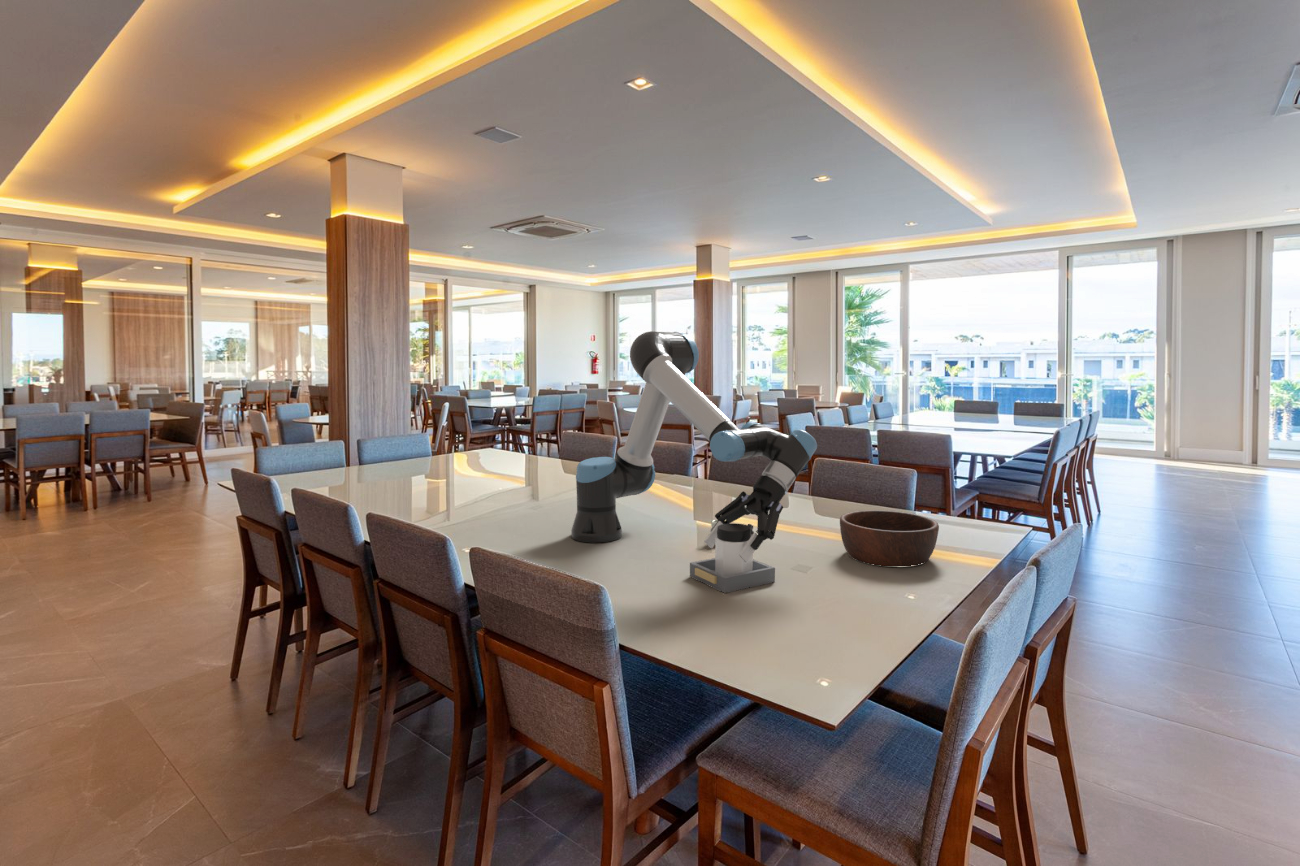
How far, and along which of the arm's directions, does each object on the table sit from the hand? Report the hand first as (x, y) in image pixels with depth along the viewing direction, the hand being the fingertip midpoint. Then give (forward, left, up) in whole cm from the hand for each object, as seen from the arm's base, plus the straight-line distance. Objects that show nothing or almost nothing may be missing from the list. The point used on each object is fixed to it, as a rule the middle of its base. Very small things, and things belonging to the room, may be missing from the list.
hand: (724, 551), depth 163 cm
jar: (+1, +2, -6) cm, 7 cm away
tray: (0, +2, -7) cm, 8 cm away
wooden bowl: (+7, +49, -8) cm, 50 cm away
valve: (-25, +21, -8) cm, 34 cm away
